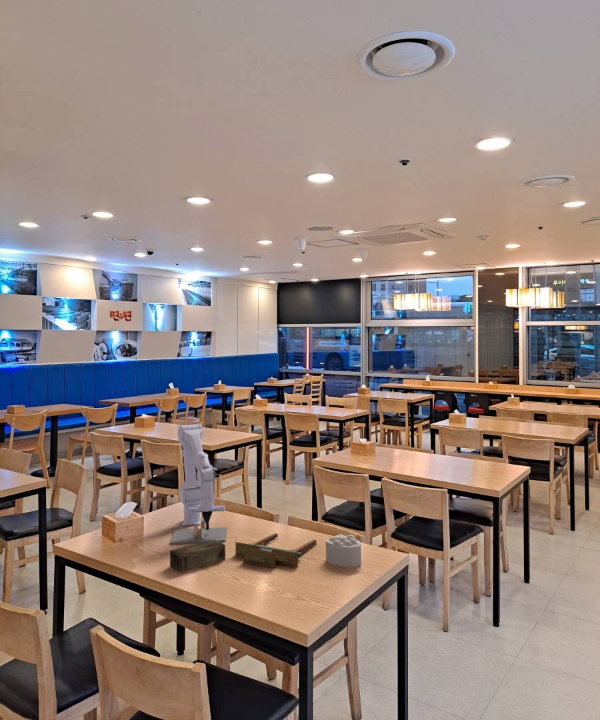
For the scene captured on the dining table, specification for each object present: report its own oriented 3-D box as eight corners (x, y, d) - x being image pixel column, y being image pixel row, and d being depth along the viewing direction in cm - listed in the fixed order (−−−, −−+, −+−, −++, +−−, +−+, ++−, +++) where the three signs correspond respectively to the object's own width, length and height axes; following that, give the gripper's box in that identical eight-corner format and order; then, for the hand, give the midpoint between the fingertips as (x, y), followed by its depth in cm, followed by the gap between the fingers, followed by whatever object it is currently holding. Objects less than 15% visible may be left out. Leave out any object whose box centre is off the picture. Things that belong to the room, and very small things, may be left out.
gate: (201, 528, 232) (200, 516, 232) (205, 528, 233) (205, 516, 232) (200, 539, 219) (200, 526, 219) (205, 538, 219) (205, 526, 219)
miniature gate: (325, 537, 212) (288, 558, 186) (325, 551, 212) (288, 574, 186) (266, 527, 225) (224, 546, 198) (266, 541, 225) (223, 561, 198)
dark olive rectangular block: (226, 560, 200) (226, 542, 200) (178, 574, 188) (177, 555, 188) (216, 554, 206) (215, 537, 206) (168, 567, 194) (168, 549, 194)
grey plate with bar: (175, 531, 232) (174, 515, 232) (227, 528, 234) (226, 513, 234) (169, 544, 217) (169, 527, 216) (225, 541, 219) (225, 525, 218)
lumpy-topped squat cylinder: (341, 552, 205) (341, 529, 205) (368, 562, 195) (367, 538, 195) (322, 560, 198) (321, 536, 198) (349, 570, 188) (348, 545, 188)
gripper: (187, 500, 222) (188, 533, 222) (223, 498, 223) (224, 531, 223) (189, 495, 229) (190, 527, 229) (224, 494, 230) (225, 526, 230)
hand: (207, 529), depth 226 cm, fingers closed
